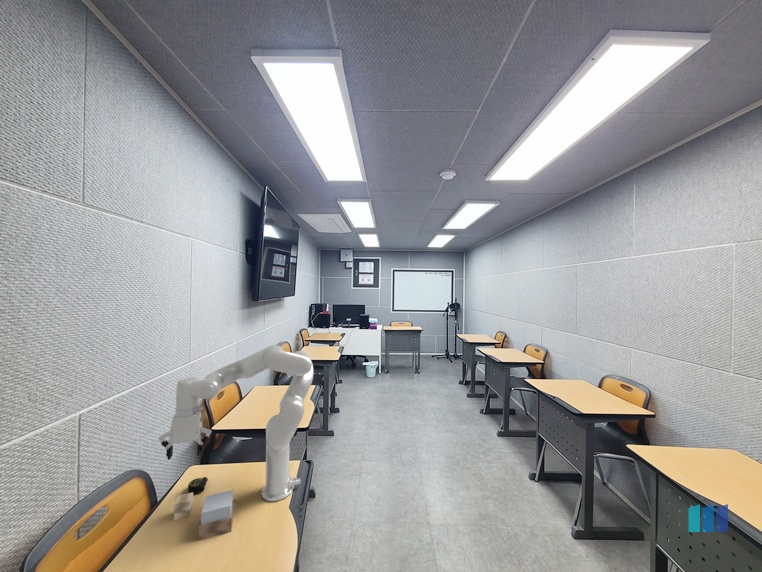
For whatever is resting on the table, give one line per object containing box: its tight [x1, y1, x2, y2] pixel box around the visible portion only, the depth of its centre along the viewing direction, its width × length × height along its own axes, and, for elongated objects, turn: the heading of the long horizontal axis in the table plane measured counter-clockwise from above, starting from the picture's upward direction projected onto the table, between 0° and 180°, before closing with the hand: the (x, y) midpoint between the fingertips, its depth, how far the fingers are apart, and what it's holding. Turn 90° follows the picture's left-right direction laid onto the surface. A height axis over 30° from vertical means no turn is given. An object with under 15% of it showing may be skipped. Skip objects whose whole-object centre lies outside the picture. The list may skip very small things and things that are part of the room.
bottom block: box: [198, 499, 235, 541], centre depth 106 cm, size 10×10×5 cm
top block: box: [200, 489, 234, 525], centre depth 106 cm, size 9×9×4 cm
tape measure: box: [187, 476, 209, 495], centre depth 125 cm, size 7×7×4 cm
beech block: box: [173, 493, 194, 521], centre depth 111 cm, size 5×5×6 cm
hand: (184, 455), depth 112 cm, fingers open, 9 cm apart
